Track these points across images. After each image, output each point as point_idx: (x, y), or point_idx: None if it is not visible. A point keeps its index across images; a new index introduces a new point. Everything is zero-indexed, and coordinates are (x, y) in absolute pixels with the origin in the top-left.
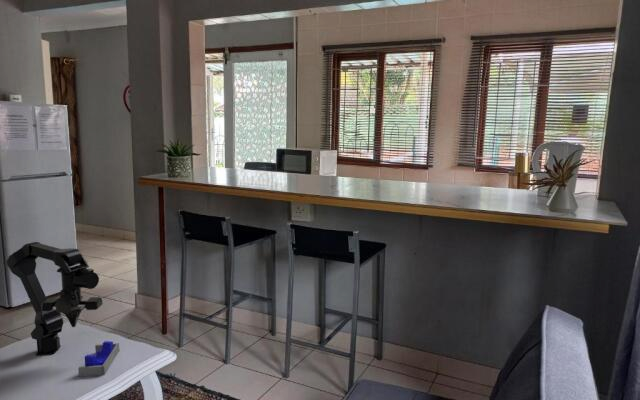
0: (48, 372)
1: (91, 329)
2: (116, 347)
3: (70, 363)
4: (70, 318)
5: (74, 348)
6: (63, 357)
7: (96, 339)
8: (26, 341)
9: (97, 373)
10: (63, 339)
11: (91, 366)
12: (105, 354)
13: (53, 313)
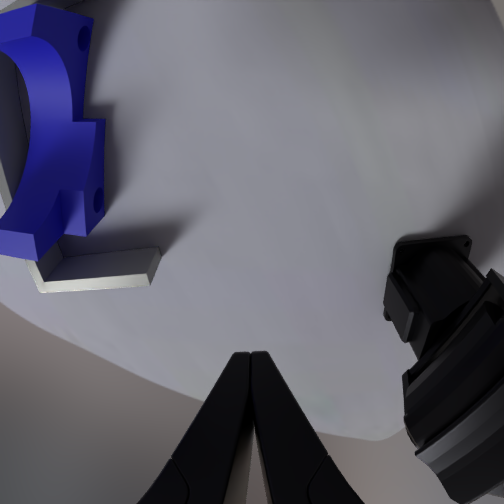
0: (332, 18)
1: None
2: None
3: (248, 122)
4: (278, 475)
5: (310, 302)
6: (330, 204)
7: None
8: None
9: None
10: (387, 367)
11: (25, 2)
12: (37, 175)
13: (491, 466)
